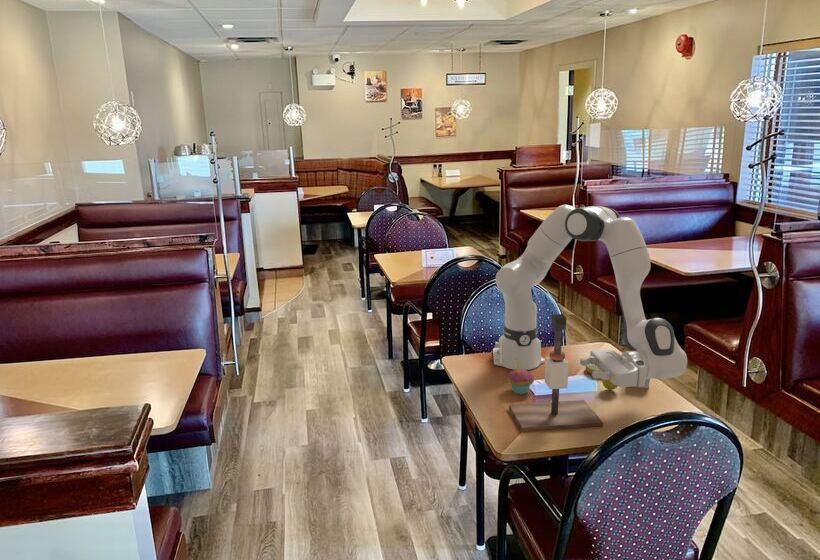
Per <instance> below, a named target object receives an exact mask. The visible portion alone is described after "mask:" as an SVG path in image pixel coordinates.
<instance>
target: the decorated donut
mask: <svg viewBox="0 0 820 560" xmlns="http://www.w3.org/2000/svg"><path fill="white" fill-rule="evenodd" d="M584 367H585V371H587V373H589V374H590V375H592V371H599V372H601V371H600V370H599V369H598V368H597V367H596V366H595V365H594V364H587V366H584Z"/></svg>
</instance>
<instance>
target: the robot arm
mask: <svg viewBox="0 0 820 560" xmlns="http://www.w3.org/2000/svg"><path fill="white" fill-rule="evenodd" d="M572 239H574V240H576V241H578V242H579V241H580V242H596V241H601V242H603V244H605V246H606V249H607V251H608V252H607V253H608V254H609V258H610V261H611V264H612V268H613V272H614V277H615V283H616V289H617V295H618V300H619V303H620V308H621V312H622V316H623V320H624V321H623V322H624V330H623V340H624V343H625V346H626V347H627V349H628V350H624V351H623V352H622V353H621V354H619V353H618V352H616V351H615V350H610V349H593V350H591V351H590V354H589V355H590V356H588V357H586V358H581V359H580V361H579V364H580V365H581V366H582V367H585V366H587V364H594V365H595V366H596V367H597V368H598V369H599V370H600V371H601V372H599V371H592V374H591V376H592V378H593V379H601V380H602V379H605V380H610V381H611V382H612V383H613V384H614V385H615V386H618V387H621V388H625V387H626V388H627V387H628V388H630V387H633V386H637V387H636V388H640V387H644V386H645V380H646V379H649V378H650V379H655V380H664V379H666V380H667V379H672V378H673V379H674V378H677V377H679V376H681V375H683V374H684V373H685V372H686V370H687V367H688V357H687V354H686V353H687V352H685V350H683V348H681V346H680V344H679V343H678V341H677V339H676V336H675V331H674V328H673V325H672V324H671V323H670V322H669V321H667V320H666V319H664V318H661V317H654V318H650V319H646V316H645V312H644V308H643V302H642V298H641V289H642V284H643V283H644V280H645V278H646V277H647V276H648V275H649V273H650V272H651V267H652V265H651V258H650V253H649V251H648V247H647V244H646V242H645V239H644V237H643V234H642V231H641V229H640V228H639V226H638V225H637V223H636V221H635V220H634V219H633V218H630V217H627V216H625V217H624V216H622V217H621V215H620V214H619V212H618V211H617V210H616V209H614V208H611V207H610V206H603V205H602V206H601V205H591V206H581V207H575V206H572V205H570V204H562V205H559V206H557V208H556V209H554V210H553V211H552V212H551V213H550V214H549V215H548V216H547V217H546V218H545V219H544V220H543V221H542V222H541V224H540V225H539V226H538V228H537V229H536V230H535V232H534V233H533V235H532V236H531V237H530V238H529V240H527V246H526V248H525V250H524V252H523V253H522V254H521V255H520V256H519V257H518V258H517V259H515V260H513V261H511V262H508V263H506V264H504V265H503V266H502V267H501V268H500V269H499V270H498V271H497V272H496V275H495V285H496V287H497V289H498V290H499V291H500V292H501V294H502V297H503V301H504V306H505V307H504V308H505V309H504V311H505V312H504V314H505V315H504V322H505V323H504V325H503V328H502V329H503V330H502V334H501V336H500V337H499V338H498V341H494V347H493V348H492V356H493V365H495V366H499V367H503V368H506V369H510V370H516V369H517V367H516V358H517V360H518V366H519V369H523V370H527V371H529V370H533V369H534V370H535V369H536V368H538V367H539V366H540V365H542V364H544V363H545V362H546V358H544V357H543V356H542V348H541V347H542V343H541V340H540V339H539V338H538V332H539V331H538V326H537V316H538V315H537V312H538V311H537V310H538V309H537V308H538V307H537V304H536V303H535V302H534V300H533V296H532V288H533V287H534V286H536V285H538V284H540V283H541V282H542V281H543V280H544V279H545V277H546V276H547V274H548V272H549V270H550V269H551V267H552V265H553V263H554V262H555V260H556V259H557V258H558V257H559V256H560V255H561V253H562V252H563V251H564V249H565V248H566V247H567V246H568V244H569V243H570V242H571V241H572Z"/></svg>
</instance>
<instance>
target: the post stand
mask: <svg viewBox="0 0 820 560" xmlns="http://www.w3.org/2000/svg"><path fill="white" fill-rule="evenodd" d="M551 328H552V329H553V330H554V338H553V339H554V340H553V341H554V342H553V346H554V347H553V350H552V351H549V357H550V358H551V359H553V360H554V362H561V360H563V359H566V353H565V352H564V351H562V339H563V330H564V331H565V330H567V316H566V315H564V314H562V313H561V314H560V313H558V314H557V313H556V314H551ZM551 390H552V391H551V401H546V402H544V401H543V402H529V403H528V402H527V403H514V404H513V403H511V404H508V410H509V413H511V415H512V417H513V419H514V420H515V422H516V424H517V426H518V428H519V429H520V431H521V433H535V432H549V431H551V432H553V431H565V430H579V429H582V430H583V429H593V428H594V429H595V428H597V429H598V428H603V427H604V422H603V421H602V419H601V418H600V417H599V415H597V413H596V412H595V411H594V410H593V408H592V407H591V406H590V405H589V404H588V402H587V401H586V400H585V399H579V400H578V399H577V400H561V401H559V399H560V389H551Z"/></svg>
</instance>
